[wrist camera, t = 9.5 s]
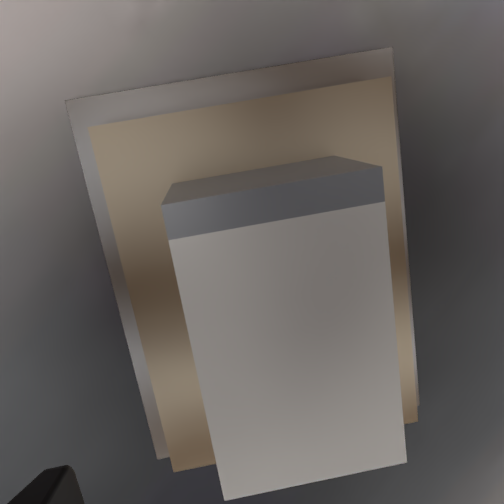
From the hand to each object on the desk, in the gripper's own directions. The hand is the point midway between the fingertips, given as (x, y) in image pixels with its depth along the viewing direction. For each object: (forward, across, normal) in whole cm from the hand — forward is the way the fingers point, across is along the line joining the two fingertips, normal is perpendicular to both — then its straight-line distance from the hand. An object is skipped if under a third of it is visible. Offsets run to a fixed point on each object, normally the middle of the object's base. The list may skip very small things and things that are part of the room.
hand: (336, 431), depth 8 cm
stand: (+10, 0, 0) cm, 11 cm away
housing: (+8, 0, 0) cm, 8 cm away
